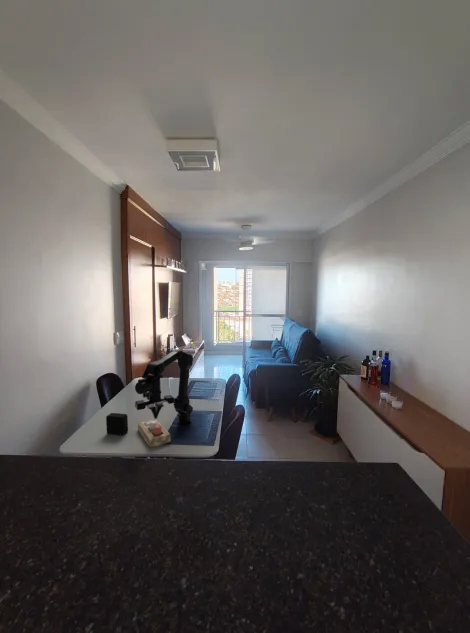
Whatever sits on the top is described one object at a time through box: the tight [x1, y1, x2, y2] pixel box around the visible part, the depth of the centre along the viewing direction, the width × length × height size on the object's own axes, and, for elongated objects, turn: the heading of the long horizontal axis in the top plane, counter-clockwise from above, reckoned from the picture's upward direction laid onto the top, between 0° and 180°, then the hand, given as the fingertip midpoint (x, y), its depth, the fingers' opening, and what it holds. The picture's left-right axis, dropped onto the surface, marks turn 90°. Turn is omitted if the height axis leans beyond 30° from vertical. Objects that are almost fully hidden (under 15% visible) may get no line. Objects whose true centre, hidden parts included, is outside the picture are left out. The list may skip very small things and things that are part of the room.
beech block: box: [137, 418, 171, 448], centre depth 154 cm, size 10×22×4 cm, turn 33°
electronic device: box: [105, 412, 129, 436], centre depth 158 cm, size 4×10×10 cm, turn 79°
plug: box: [149, 421, 157, 431], centre depth 154 cm, size 4×4×4 cm
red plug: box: [153, 425, 162, 436], centre depth 149 cm, size 4×4×4 cm
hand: (155, 418), depth 149 cm, fingers closed
